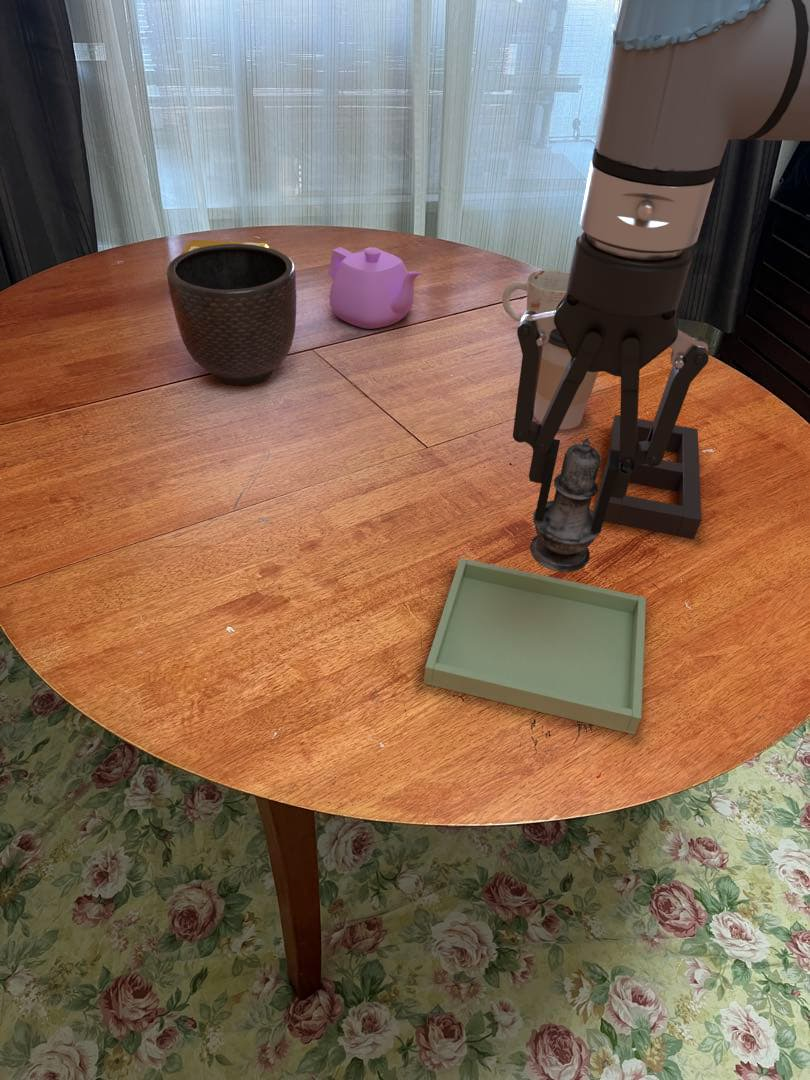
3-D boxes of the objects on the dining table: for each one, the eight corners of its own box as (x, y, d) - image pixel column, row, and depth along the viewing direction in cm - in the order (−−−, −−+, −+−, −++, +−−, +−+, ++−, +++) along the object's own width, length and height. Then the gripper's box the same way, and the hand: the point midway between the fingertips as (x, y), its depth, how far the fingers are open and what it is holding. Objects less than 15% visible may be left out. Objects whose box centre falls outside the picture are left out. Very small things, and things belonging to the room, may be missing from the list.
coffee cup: (573, 396, 113) (594, 299, 103) (600, 429, 106) (625, 329, 96) (516, 402, 111) (532, 304, 101) (540, 437, 104) (559, 335, 94)
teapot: (391, 348, 122) (393, 280, 114) (305, 308, 131) (302, 244, 124) (443, 322, 129) (449, 258, 122) (359, 287, 139) (359, 225, 132)
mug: (558, 355, 122) (570, 295, 116) (487, 335, 126) (494, 276, 120) (576, 335, 128) (588, 277, 121) (507, 317, 132) (515, 260, 125)
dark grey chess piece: (565, 584, 64) (595, 469, 56) (512, 548, 67) (534, 434, 60) (606, 554, 67) (640, 441, 60) (554, 521, 71) (580, 410, 63)
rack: (691, 447, 104) (697, 428, 102) (693, 539, 89) (701, 519, 87) (610, 432, 106) (614, 414, 104) (599, 520, 91) (604, 501, 89)
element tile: (192, 261, 144) (188, 236, 141) (271, 265, 145) (269, 239, 142) (174, 294, 133) (169, 267, 130) (259, 298, 133) (257, 271, 130)
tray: (640, 613, 80) (646, 596, 78) (634, 735, 68) (641, 718, 67) (458, 574, 83) (460, 557, 81) (423, 683, 72) (424, 666, 70)
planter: (289, 405, 107) (282, 296, 97) (169, 396, 108) (148, 287, 97) (309, 348, 120) (304, 247, 110) (201, 340, 121) (186, 239, 110)
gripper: (495, 240, 48) (461, 523, 63) (779, 280, 45) (671, 566, 61) (514, 204, 54) (478, 472, 69) (768, 237, 51) (671, 510, 66)
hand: (568, 516), depth 65 cm, fingers closed on dark grey chess piece, 4 cm apart
